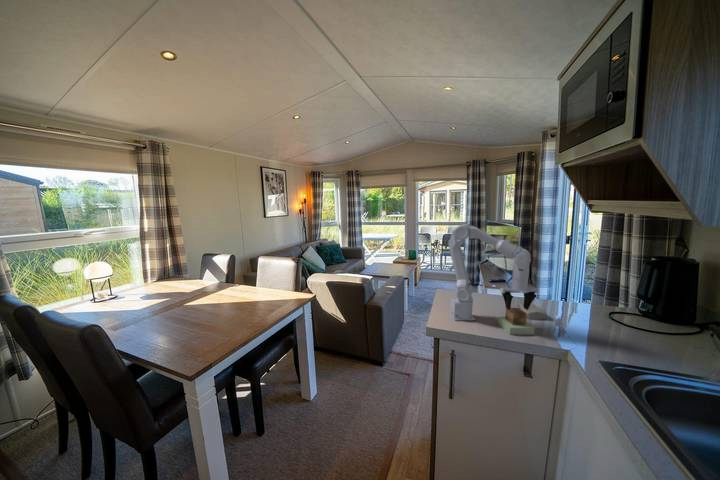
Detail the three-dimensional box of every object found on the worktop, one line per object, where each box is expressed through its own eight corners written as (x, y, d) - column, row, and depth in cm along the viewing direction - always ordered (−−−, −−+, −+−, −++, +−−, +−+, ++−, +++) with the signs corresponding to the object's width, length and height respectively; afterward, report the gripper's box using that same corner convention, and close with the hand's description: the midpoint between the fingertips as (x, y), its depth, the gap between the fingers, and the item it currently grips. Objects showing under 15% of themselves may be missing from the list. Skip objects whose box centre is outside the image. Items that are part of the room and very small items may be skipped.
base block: (509, 334, 108) (510, 327, 107) (497, 322, 118) (497, 316, 117) (534, 334, 108) (534, 327, 107) (519, 322, 117) (520, 316, 117)
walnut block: (512, 324, 110) (513, 313, 109) (505, 318, 115) (506, 308, 114) (525, 324, 110) (526, 313, 109) (517, 318, 115) (518, 308, 114)
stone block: (527, 324, 120) (549, 319, 120) (526, 314, 120) (548, 310, 119) (512, 313, 132) (532, 309, 132) (511, 304, 131) (531, 300, 131)
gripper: (507, 281, 105) (504, 312, 107) (544, 281, 105) (540, 312, 107) (498, 275, 112) (496, 305, 114) (532, 275, 112) (529, 305, 114)
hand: (516, 308), depth 111 cm, fingers open, 7 cm apart
